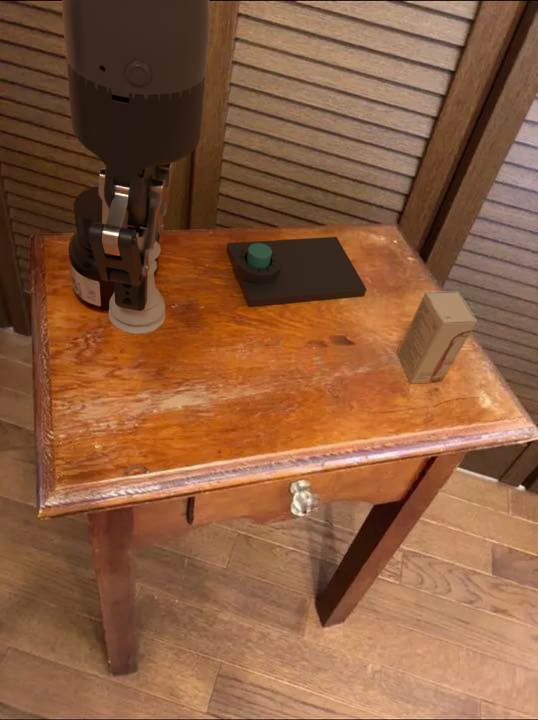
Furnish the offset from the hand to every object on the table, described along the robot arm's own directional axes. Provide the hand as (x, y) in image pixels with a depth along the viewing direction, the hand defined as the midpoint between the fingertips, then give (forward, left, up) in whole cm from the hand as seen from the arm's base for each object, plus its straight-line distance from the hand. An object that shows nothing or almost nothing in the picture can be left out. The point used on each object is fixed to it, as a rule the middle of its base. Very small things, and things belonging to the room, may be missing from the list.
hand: (137, 288), depth 45 cm
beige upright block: (+30, +15, -19) cm, 39 cm away
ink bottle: (-8, +19, -19) cm, 28 cm away
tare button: (+9, +26, -16) cm, 32 cm away
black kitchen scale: (+14, +28, -19) cm, 37 cm away
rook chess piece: (0, 0, -3) cm, 3 cm away
